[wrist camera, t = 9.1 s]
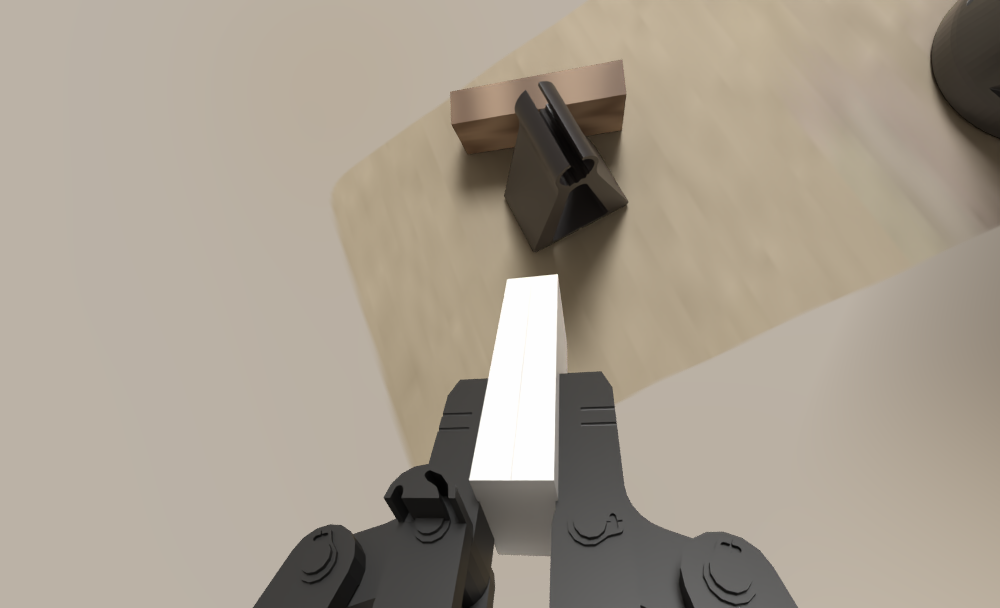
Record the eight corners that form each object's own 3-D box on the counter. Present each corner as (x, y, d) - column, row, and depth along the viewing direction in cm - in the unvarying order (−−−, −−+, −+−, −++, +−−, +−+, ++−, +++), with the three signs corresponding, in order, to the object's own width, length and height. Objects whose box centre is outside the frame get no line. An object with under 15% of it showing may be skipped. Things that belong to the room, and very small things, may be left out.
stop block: (618, 99, 38) (622, 59, 34) (621, 130, 38) (626, 94, 33) (466, 125, 41) (450, 91, 36) (467, 154, 41) (451, 124, 36)
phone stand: (595, 148, 38) (597, 48, 27) (628, 204, 37) (646, 124, 25) (504, 197, 39) (469, 120, 28) (533, 253, 38) (508, 197, 26)
